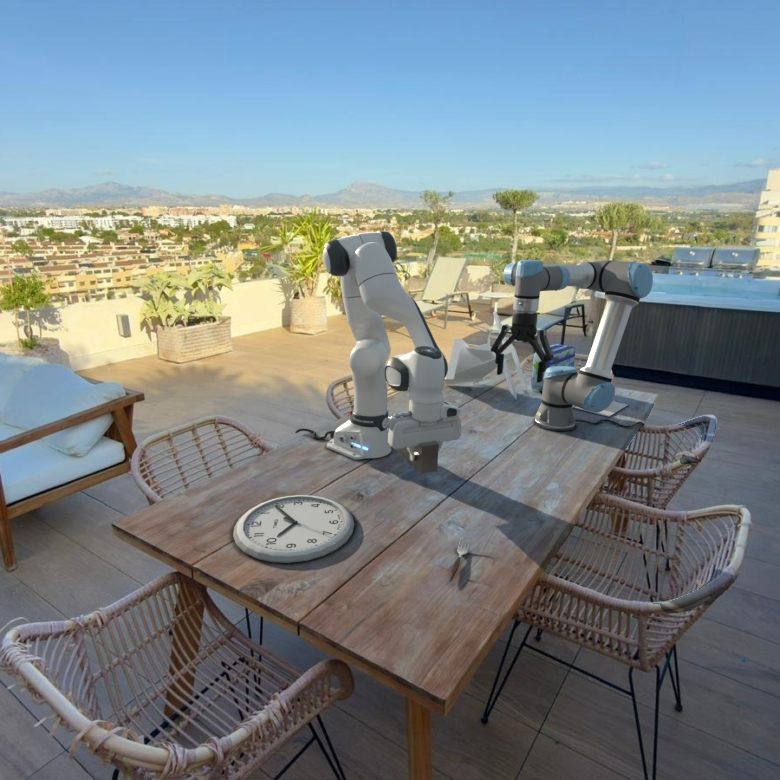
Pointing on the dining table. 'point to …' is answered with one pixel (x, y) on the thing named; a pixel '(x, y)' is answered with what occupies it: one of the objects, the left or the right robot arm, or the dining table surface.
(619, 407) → the invitation card
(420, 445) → the bar
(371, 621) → the dining table surface
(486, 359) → the white plastic object
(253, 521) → the wall clock
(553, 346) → the lunch box
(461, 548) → the fork
